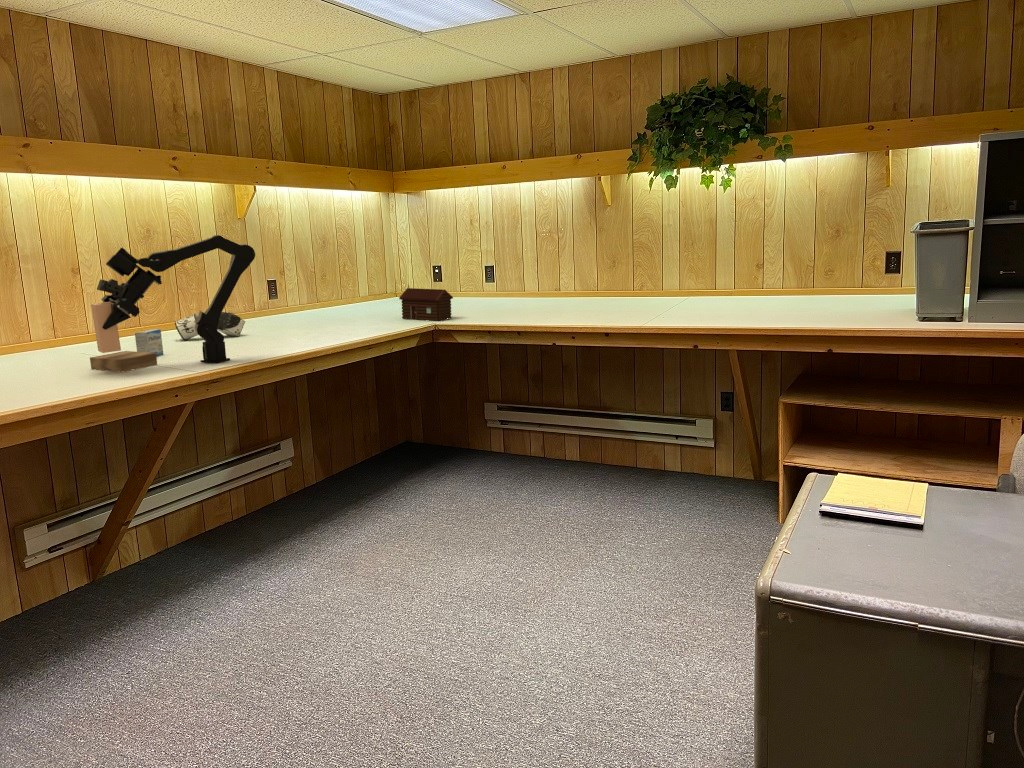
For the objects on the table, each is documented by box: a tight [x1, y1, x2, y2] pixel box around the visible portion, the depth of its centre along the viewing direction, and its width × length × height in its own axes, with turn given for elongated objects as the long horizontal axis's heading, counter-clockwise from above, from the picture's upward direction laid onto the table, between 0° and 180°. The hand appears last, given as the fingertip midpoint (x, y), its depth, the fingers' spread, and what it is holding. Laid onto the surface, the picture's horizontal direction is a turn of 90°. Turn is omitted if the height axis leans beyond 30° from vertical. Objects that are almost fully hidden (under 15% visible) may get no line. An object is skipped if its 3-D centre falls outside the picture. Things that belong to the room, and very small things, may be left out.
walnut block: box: [89, 350, 158, 373], centre depth 242 cm, size 13×13×4 cm
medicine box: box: [134, 328, 164, 357], centre depth 260 cm, size 8×4×9 cm, turn 170°
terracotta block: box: [90, 302, 122, 354], centre depth 231 cm, size 5×5×14 cm
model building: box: [398, 284, 454, 322], centre depth 348 cm, size 21×12×15 cm, turn 60°
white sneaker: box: [174, 311, 246, 341], centre depth 299 cm, size 25×10×10 cm, turn 122°
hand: (101, 327), depth 230 cm, fingers closed on terracotta block, 5 cm apart
